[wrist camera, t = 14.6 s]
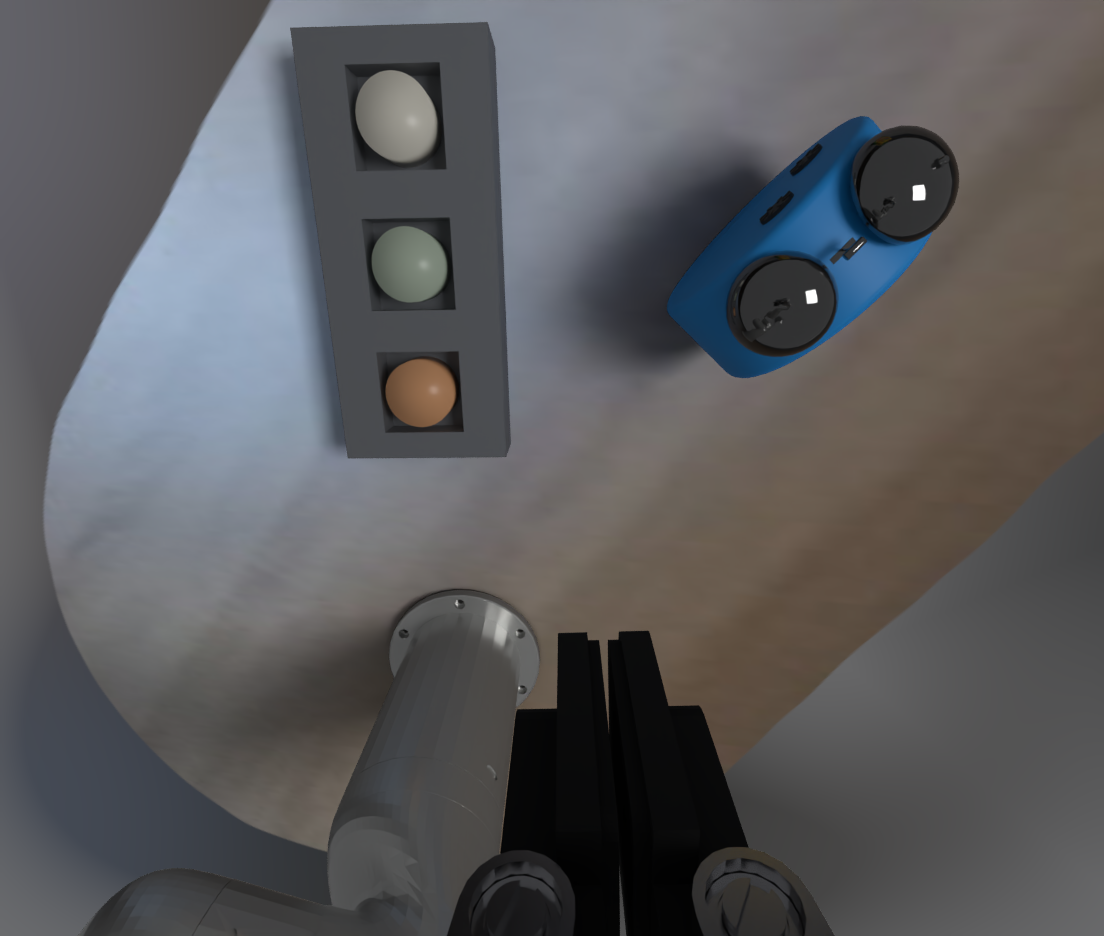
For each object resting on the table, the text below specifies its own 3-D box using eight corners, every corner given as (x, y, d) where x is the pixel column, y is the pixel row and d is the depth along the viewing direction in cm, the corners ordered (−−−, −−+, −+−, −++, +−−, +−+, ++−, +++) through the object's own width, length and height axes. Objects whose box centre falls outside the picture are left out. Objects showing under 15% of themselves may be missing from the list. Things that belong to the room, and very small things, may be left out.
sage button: (453, 301, 37) (445, 301, 35) (387, 302, 37) (375, 303, 35) (448, 229, 36) (440, 225, 33) (380, 230, 36) (367, 226, 34)
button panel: (510, 443, 42) (505, 456, 38) (364, 444, 42) (347, 458, 39) (495, 48, 34) (487, 22, 31) (316, 52, 34) (290, 27, 31)
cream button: (444, 166, 35) (435, 158, 32) (374, 168, 35) (360, 159, 32) (438, 84, 33) (429, 69, 31) (366, 86, 33) (350, 71, 31)
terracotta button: (461, 418, 40) (454, 426, 37) (399, 419, 40) (389, 427, 37) (457, 355, 38) (449, 360, 36) (393, 356, 38) (382, 361, 36)
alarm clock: (707, 365, 40) (788, 409, 25) (646, 304, 38) (694, 314, 24) (856, 216, 36) (1043, 171, 22) (794, 145, 35) (949, 49, 21)
